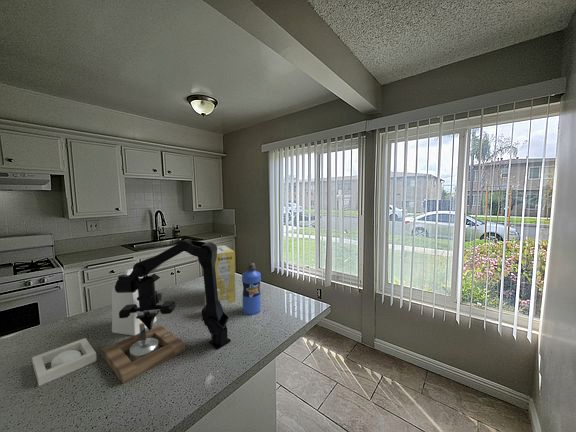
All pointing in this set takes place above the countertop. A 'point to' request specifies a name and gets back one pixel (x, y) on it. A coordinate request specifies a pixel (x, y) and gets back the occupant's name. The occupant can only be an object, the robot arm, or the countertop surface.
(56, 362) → the garlic
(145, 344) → the dial
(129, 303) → the milk
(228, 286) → the pasta box
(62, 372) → the frame
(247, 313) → the water bottle
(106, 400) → the countertop surface
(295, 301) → the countertop surface
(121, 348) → the surround
